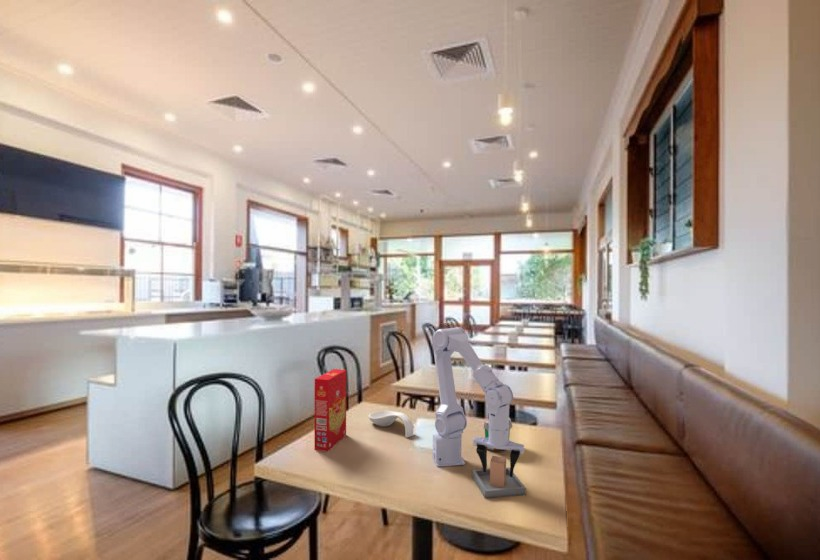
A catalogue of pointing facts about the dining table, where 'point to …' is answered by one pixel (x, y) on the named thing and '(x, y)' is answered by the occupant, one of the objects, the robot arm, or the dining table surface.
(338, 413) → the food packaging
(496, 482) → the block
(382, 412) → the spoon rest
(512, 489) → the tray
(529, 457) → the dining table surface
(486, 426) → the food container
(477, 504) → the dining table surface
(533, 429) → the dining table surface
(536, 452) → the dining table surface
